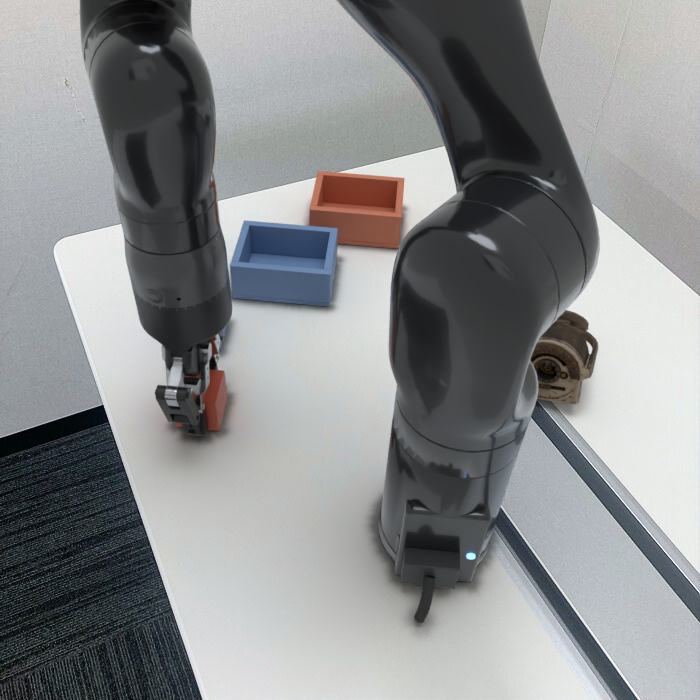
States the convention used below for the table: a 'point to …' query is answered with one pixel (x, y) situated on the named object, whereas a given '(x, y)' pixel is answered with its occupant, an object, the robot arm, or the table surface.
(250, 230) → the blue bin
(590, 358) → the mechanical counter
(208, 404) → the terracotta block
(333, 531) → the table surface
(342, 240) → the terracotta bin
